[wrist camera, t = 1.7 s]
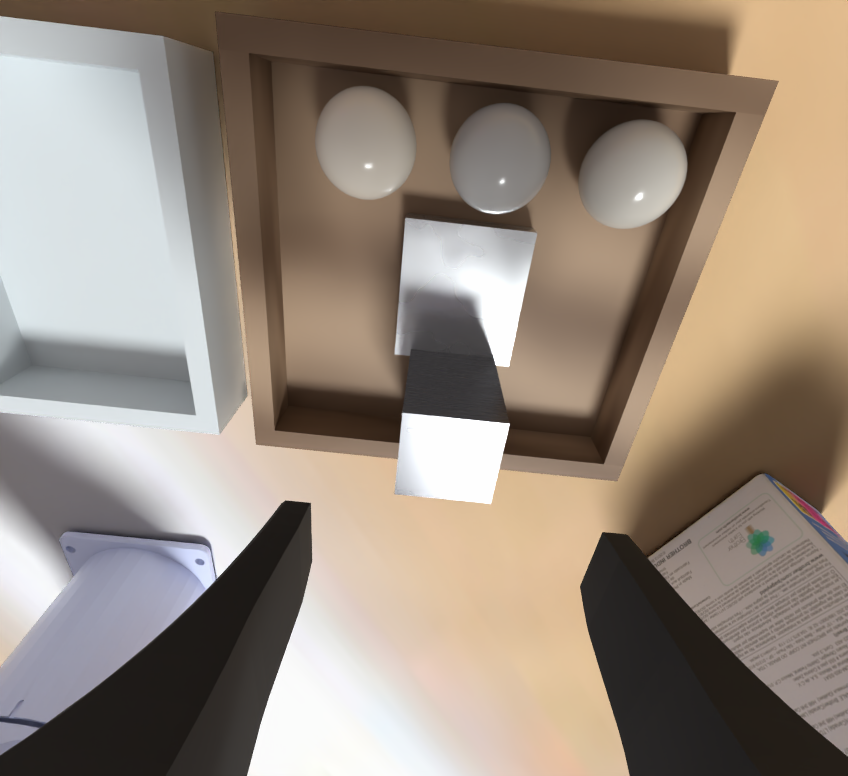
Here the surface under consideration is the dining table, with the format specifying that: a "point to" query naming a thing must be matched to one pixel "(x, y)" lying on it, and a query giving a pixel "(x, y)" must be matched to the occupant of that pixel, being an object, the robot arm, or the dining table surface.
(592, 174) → the pebble
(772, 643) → the ink cartridge box
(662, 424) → the dining table surface
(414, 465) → the grey l-shaped block
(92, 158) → the bin
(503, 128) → the pebble
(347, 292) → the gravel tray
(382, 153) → the pebble
